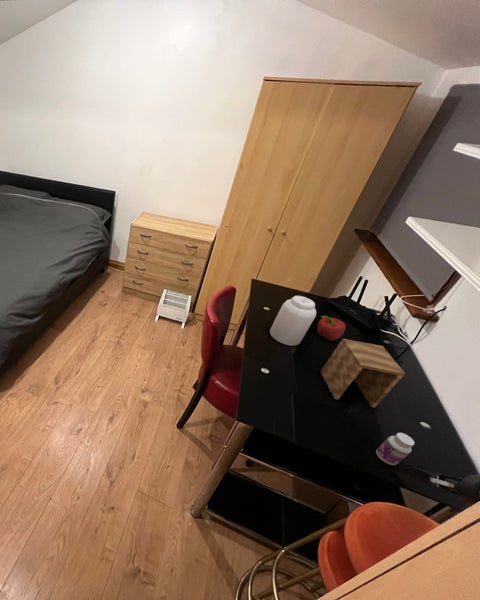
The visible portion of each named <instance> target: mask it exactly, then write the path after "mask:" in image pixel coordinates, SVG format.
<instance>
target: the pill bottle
mask: <svg viewBox="0 0 480 600" xmlns="http://www.w3.org/2000/svg"><path fill="white" fill-rule="evenodd" d="M414 445H415V441H414V439H413V438H412V437H410V436H409V435H408V434H406V433H405V432H404V433H403V432H397V433H396V434H394V435H390V436H388V437H387V438H386V439H385V440H384V441H383V442H382V443H381V444H380V445H379V446H378V447H377V448H376V450H375V454H376V456H377V457H378V459H380V460H381V461H382V462H383V463H385V464H387V465H391V466H397V464H400V462H402V460H403V459H405V458H406V457H407V456H408V455H409V454H410V453H411V452H412V447H413V446H414Z"/></svg>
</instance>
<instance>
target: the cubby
mask: <svg viewBox="0 0 480 600" xmlns="http://www.w3.org/2000/svg"><path fill="white" fill-rule="evenodd" d="M320 373H321V376H322V377H323V379H324V382H325V383H326V385H327V387H328V389H329V391H330V392H331V395H332V397H333V398H334V400H339V399H340V398H341V397H342V395H343V394H344V393H345V391H347V389H348V388H349V386H350V385H351V384H352V382H353V381H354V382H355V384H356V385H357V388H358V389H359V390H360V391H361V393H362V395H363V396H364V398H365V399H366V401H367V403H368V404H369V406H370V407H371V408H374V409H375V408H376V407H377V406H378V405H379V404H380V403H381V401H383V399H384V398H385V397H386V396H387V395H388V393H390V392H391V391H392V389H393V388H394V387H395V386H396V384H398V382H399V381H400V380H401V379H402V378H403V377H404V376H405V375H406V372H405V371H404V370H403V369H402V367H400V365H399V364H398V363H397V362H396V360H395V359H394V358H393V357H392V356H391V354H390V353H389V351H388V350H387V349H386V348H385V347H384V346H383V345H378V344H374V343H369V342H364V341H357V340H352V339H348V338H342V339H341V341H340V342H339V344H338V345H337V347H336V348H335V349H334V351H333V352H332V354H331V355H330V357H329V358H328V359H327V361H326V362H325V364H324V365H323V367H322V368H321V370H320Z"/></svg>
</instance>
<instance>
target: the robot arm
mask: <svg viewBox="0 0 480 600" xmlns="http://www.w3.org/2000/svg"><path fill="white" fill-rule="evenodd" d="M399 472H400V473H402V474H406V475H408V476H410V477H411V478H413V479H416V480H419V481H421V482H424V483H427V484H428V485H430V486H432V487H437V488H438V487H440V488H441V489H442V490H444V491H447V492H450V493H451V494H453V495H455V496H458V497H461V498H462V499H463V501H464V502H465V503H466V504H467V505H468V506H469V507H471V506H472V505H473V504H475V503H476V502H478V501H480V474H468V475H467V476H465V477H464V478H461V477H459V476H453V475H452V476H451V475H448V474H444V473H442V472H440V473H439V472H435V471H433V470H428V469H426V468H424V466H423V465H419V464H417V465H413V464H410V463H407V462H403V461H400V462H399Z"/></svg>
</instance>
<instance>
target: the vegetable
mask: <svg viewBox="0 0 480 600" xmlns="http://www.w3.org/2000/svg"><path fill="white" fill-rule="evenodd" d="M320 318H321V319H320V320H319V321H318V323H317V334H318V336H321V337H323V338H324V339H325V340H327V341H330V342H331V341H332V342H334V341H336V340H338V339H341V338H342V337H343V335H344V333H345V331H346V324H345V322H344V321H342V320H341V319H338V318H336V317H330V316H327V315H322V316H320Z"/></svg>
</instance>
